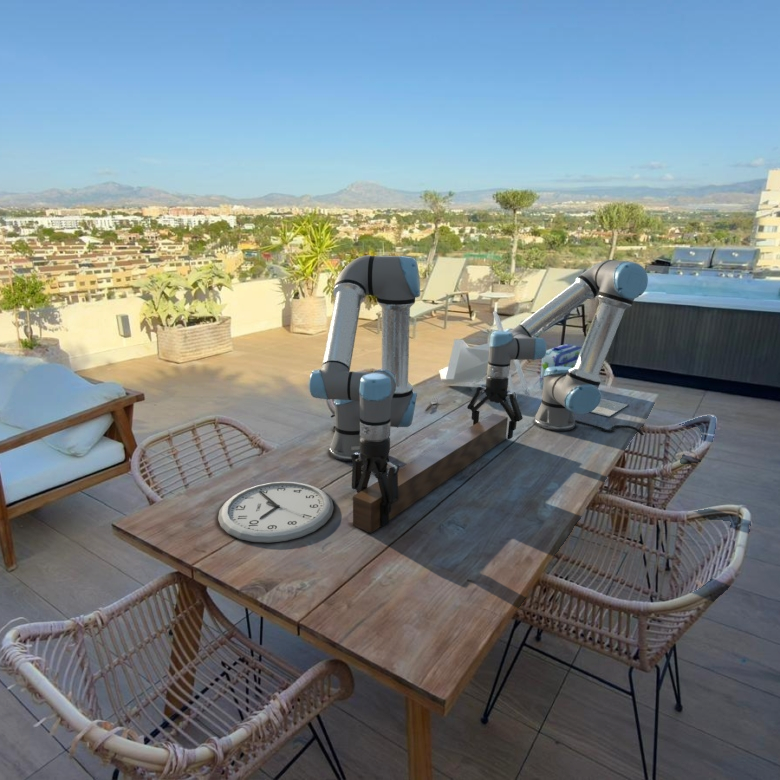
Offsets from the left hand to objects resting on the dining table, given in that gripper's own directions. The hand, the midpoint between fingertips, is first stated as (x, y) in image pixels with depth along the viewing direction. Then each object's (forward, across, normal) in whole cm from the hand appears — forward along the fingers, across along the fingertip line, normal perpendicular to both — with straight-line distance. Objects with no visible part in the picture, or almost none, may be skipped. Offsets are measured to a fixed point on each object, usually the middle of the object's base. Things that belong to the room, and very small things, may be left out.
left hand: (374, 519), depth 135 cm
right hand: (-2, 0, +68) cm, 68 cm away
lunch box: (0, -4, +147) cm, 147 cm away
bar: (0, 0, +34) cm, 34 cm away
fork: (0, -37, +86) cm, 94 cm away
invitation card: (0, +20, +133) cm, 134 cm away
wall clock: (0, -24, -12) cm, 26 cm away
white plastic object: (0, -31, +118) cm, 121 cm away
